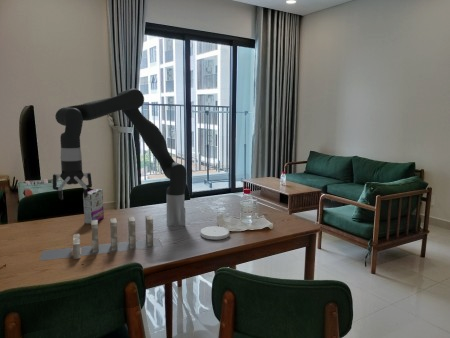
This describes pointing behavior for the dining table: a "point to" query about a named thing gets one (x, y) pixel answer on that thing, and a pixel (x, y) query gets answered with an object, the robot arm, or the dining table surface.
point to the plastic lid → (214, 232)
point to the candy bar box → (93, 206)
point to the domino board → (102, 249)
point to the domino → (76, 246)
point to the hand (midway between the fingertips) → (73, 198)
